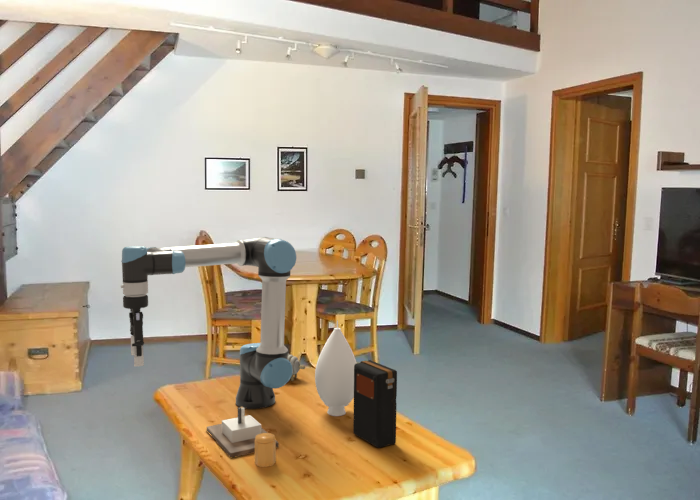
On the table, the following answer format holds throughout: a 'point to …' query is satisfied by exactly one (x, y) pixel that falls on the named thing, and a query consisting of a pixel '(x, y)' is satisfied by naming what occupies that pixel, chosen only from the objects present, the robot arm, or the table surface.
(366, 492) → the table surface
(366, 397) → the black upright block
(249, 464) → the table surface
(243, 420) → the box
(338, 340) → the lamp
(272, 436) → the orange acorn nut
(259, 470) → the table surface
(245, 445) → the mounting board
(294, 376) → the toy sheep
